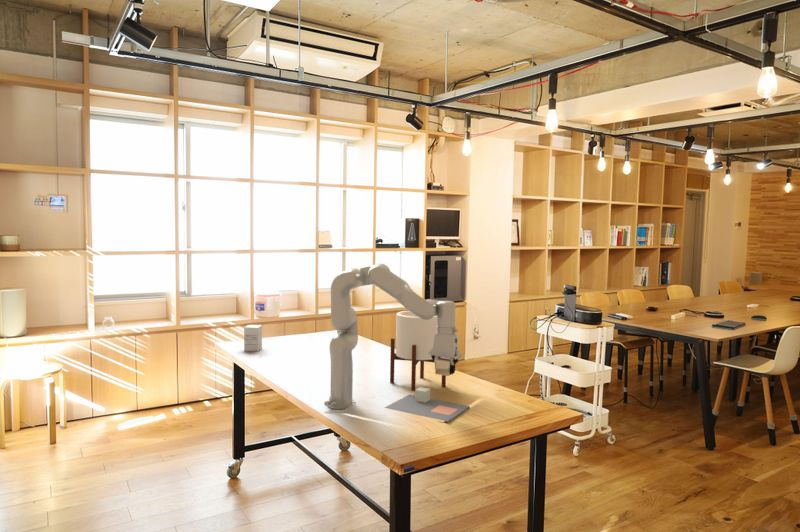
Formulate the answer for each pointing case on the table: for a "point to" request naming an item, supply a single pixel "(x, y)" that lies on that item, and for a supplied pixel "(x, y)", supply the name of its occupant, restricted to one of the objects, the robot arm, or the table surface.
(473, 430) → the table surface
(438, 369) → the maple block
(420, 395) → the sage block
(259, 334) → the supplement box
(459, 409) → the board
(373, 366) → the table surface
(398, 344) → the plant pot with stand
